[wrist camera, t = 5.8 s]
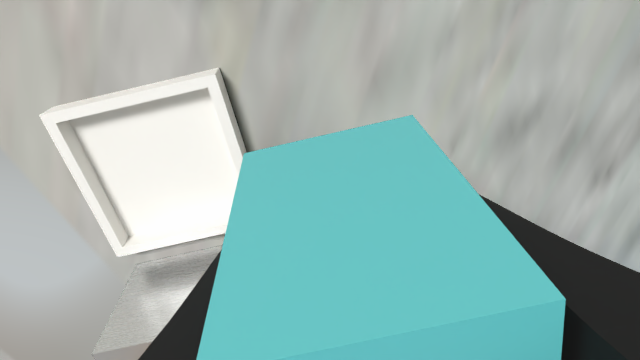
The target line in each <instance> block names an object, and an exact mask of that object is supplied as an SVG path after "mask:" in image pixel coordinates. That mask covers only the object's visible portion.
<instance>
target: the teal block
mask: <svg viewBox="0 0 640 360" xmlns="http://www.w3.org/2000/svg"><path fill="white" fill-rule="evenodd" d="M565 302H566V299H565V297H564V296H563V295H562V294H561V293H560V291H559V290H558V289H557V288H556V287H555V285H554V284H553V283H552V282H551V281H550V279H549V278H548V277H547V276H546V275H545V273H544V272H543V271H542V270H541V269H540V267H539V266H538V265H537V264H536V263H535V261H534V260H533V259H532V258H531V257H530V255H529V254H528V253H527V252H526V251H525V249H524V248H523V247H522V246H521V245H520V244H519V242H518V241H517V240H516V239H515V238H514V236H513V235H512V234H511V233H510V232H509V230H508V229H507V228H506V227H505V226H504V224H503V223H502V222H501V221H500V220H499V218H498V217H497V216H496V215H495V214H494V212H493V211H492V210H491V209H490V208H489V206H488V205H487V204H486V203H485V202H484V200H483V199H482V198H481V197H480V196H479V194H478V193H477V192H476V191H475V190H474V188H473V187H472V186H471V185H470V184H469V182H468V181H467V180H466V179H465V178H464V176H463V175H462V174H461V173H460V172H459V170H458V169H457V168H456V167H455V166H454V164H453V163H452V162H451V161H450V160H449V158H448V157H447V156H446V155H445V154H444V152H443V151H442V150H441V149H440V148H439V146H438V145H437V144H436V143H435V142H434V140H433V139H432V138H431V137H430V136H429V134H428V133H427V132H426V131H425V130H424V128H423V127H422V126H421V125H420V124H419V122H418V121H417V120H416V119H415V118H414V116H413V115H410V116H406V117H401V118H397V119H393V120H388V121H384V122H380V123H375V124H371V125H366V126H362V127H358V128H353V129H349V130H344V131H340V132H336V133H331V134H327V135H322V136H318V137H314V138H309V139H305V140H301V141H296V142H292V143H287V144H283V145H279V146H274V147H270V148H265V149H261V150H257V151H252V152H248V153H244V155H243V160H242V164H241V168H240V173H239V177H238V181H237V186H236V190H235V194H234V199H233V203H232V207H231V212H230V216H229V220H228V225H227V229H226V233H225V238H224V242H223V246H222V251H221V255H220V259H219V264H218V268H217V272H216V277H215V281H214V285H213V290H212V294H211V298H210V303H209V307H208V311H207V316H206V320H205V324H204V329H203V333H202V337H201V342H200V346H199V350H198V355H197V359H196V360H561V353H562V341H563V328H564V315H565Z"/></svg>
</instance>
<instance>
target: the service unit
mask: <svg viewBox="0 0 640 360" xmlns="http://www.w3.org/2000/svg"><path fill="white" fill-rule="evenodd" d="M221 250H222V245H221V246H216V247H212V248H207V249H203V250H198V251H194V252H189V253H184V254H180V255H175V256H171V257H166V258H162V259H157V260H153V261H148V262H144V263H139V264H136V266H135V268H134V270H133V272H132V274H131V276H130V278H129V280H128V282H127V284H126V286H125V288H124V290H123V293H122V294H121V296H120V298H119V301H118V302H117V304H116V306H115V308H114V310H113V312H112V314H111V316H110V318H109V320H108V322H107V325H106V327H105V328H104V330H103V332H102V334H101V336H100V338H99V340H98V342H97V344H96V346H95V348H94V350H93V353H92V356H93V357H94V359H95V360H138V359H139V358H140V357H141V355H142V354H143V353H144V352H145V350H146V349H147V348H148V347H149V345H150V344H151V343H152V342H153V340H154V339H155V338H156V337H157V336H158V334H159V333H160V332H161V331H162V329H163V328H164V327H165V326H166V324H167V323H168V322H169V321H170V319H171V318H172V317H173V315H174V314H175V313H176V311H177V310H178V309H179V307H180V306H181V305H182V303H183V302H184V300H185V299H186V298H187V296H188V295H189V294H190V292H191V291H192V290H193V288H194V287H195V286H196V284H197V283H198V281H199V280H200V279H201V277H202V276H203V274H204V273H205V271H206V270H207V269H208V267H209V266H210V264H211V263H212V262H213V260H214V259H215V257H216V256H217V255H218V253H219V252H220V251H221Z"/></svg>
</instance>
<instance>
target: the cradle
mask: <svg viewBox="0 0 640 360" xmlns="http://www.w3.org/2000/svg"><path fill="white" fill-rule="evenodd" d="M39 116H40V118H41V120H42V122H43V123H44V125H45V127H46V129H47V131H48V132H49V134H50V136H51V138H52V140H53V141H54V143H55V145H56V147H57V149H58V151H59V152H60V154H61V156H62V158H63V160H64V161H65V163H66V165H67V167H68V169H69V170H70V172H71V174H72V176H73V178H74V179H75V181H76V183H77V185H78V187H79V188H80V190H81V192H82V194H83V196H84V197H85V199H86V201H87V203H88V205H89V207H90V208H91V210H92V212H93V214H94V216H95V217H96V219H97V221H98V223H99V225H100V226H101V228H102V230H103V232H104V234H105V235H106V237H107V239H108V241H109V243H110V244H111V246H112V248H113V250H114V252H115V253H116V255H117V257H120V256H125V255H129V254H134V253H138V252H143V251H147V250H152V249H156V248H161V247H165V246H170V245H174V244H179V243H183V242H188V241H192V240H197V239H201V238H206V237H210V236H215V235H219V234H224V233H226V229H227V225H228V220H229V216H230V212H231V207H232V203H233V199H234V194H235V190H236V186H237V181H238V177H239V173H240V168H241V164H242V160H243V155H244V153H247V152H246V149H245V146H244V143H243V140H242V136H241V133H240V130H239V127H238V124H237V121H236V118H235V115H234V112H233V109H232V106H231V103H230V100H229V96H228V93H227V90H226V87H225V84H224V81H223V78H222V75H221V72H220V69H219V68H215V69H211V70H207V71H202V72H198V73H194V74H190V75H185V76H181V77H177V78H173V79H168V80H164V81H160V82H156V83H151V84H147V85H143V86H139V87H134V88H130V89H126V90H122V91H117V92H113V93H109V94H105V95H100V96H96V97H92V98H88V99H83V100H79V101H75V102H71V103H66V104H62V105H58V106H54V107H52V108H50V109H48V110H47V111H45V112H43V113H42V114H40V115H39Z"/></svg>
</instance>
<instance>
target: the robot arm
mask: <svg viewBox="0 0 640 360" xmlns="http://www.w3.org/2000/svg"><path fill="white" fill-rule="evenodd" d="M479 196H480V197H481V198H482V199H483V200H484V202H485V203H486V204H487V205H488V206H489V208H490V209H491V210H492V211H493V212H494V214H495V215H496V216H497V217H498V218H499V220H500V221H501V222H502V223H503V224H504V226H505V227H506V228H507V229H508V230H509V232H510V233H511V234H512V235H513V236H514V238H515V239H516V240H517V241H518V242H519V244H520V245H521V246H522V247H523V248H524V249H525V251H526V252H527V253H528V254H529V255H530V257H531V258H532V259H533V260H534V261H535V263H536V264H537V265H538V266H539V267H540V269H541V270H542V271H543V272H544V273H545V275H546V276H547V277H548V278H549V279H550V281H551V282H552V283H553V284H554V285H555V287H556V288H557V289H558V290H559V291H560V293H561V294H562V295H563V296H564V297H565V299H566V302H565V315H564V328H563V341H562V353H561V360H640V273H639V272H636V271H634V270H632V269H629V268H627V267H625V266H622V265H620V264H618V263H616V262H613V261H611V260H609V259H607V258H604V257H602V256H600V255H598V254H595V253H593V252H591V251H589V250H587V249H584V248H582V247H580V246H578V245H576V244H574V243H572V242H570V241H568V240H566V239H563V238H561V237H559V236H557V235H555V234H553V233H551V232H549V231H547V230H545V229H543V228H541V227H540V226H538V225H536V224H534V223H532V222H530V221H528V220H526V219H524V218H522V217H520V216H519V215H517V214H515V213H513V212H511V211H509V210H507V209H505V208H504V207H502V206H500V205H498V204H496V203H494V202H492V201H490V200H488V199H487V198H485V197H483V196H481V195H479ZM221 251H222V250H221ZM221 251H220V252H219V253H218V255H217V256H216V257H215V259H214V260H213V262H212V263H211V264H210V266H209V267H208V269H207V270H206V271H205V273H204V274H203V276H202V277H201V279H200V280H199V281H198V283H197V284H196V286H195V287H194V288H193V290H192V291H191V292H190V294H189V295H188V296H187V298H186V299H185V300H184V302H183V303H182V305H181V306H180V307H179V309H178V310H177V311H176V313H175V314H174V315H173V317H172V318H171V319H170V321H169V322H168V323H167V324H166V326H165V327H164V328H163V329H162V331H161V332H160V333H159V334H158V336H157V337H156V338H155V339H154V340H153V342H152V343H151V344H150V345H149V347H148V348H147V349H146V350H145V352H144V353H143V354H142V355H141V357H140V358H139V359H138V360H196V359H197V355H198V350H199V346H200V342H201V337H202V333H203V329H204V324H205V320H206V316H207V311H208V307H209V303H210V298H211V294H212V290H213V285H214V281H215V277H216V272H217V268H218V264H219V259H220V255H221Z"/></svg>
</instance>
